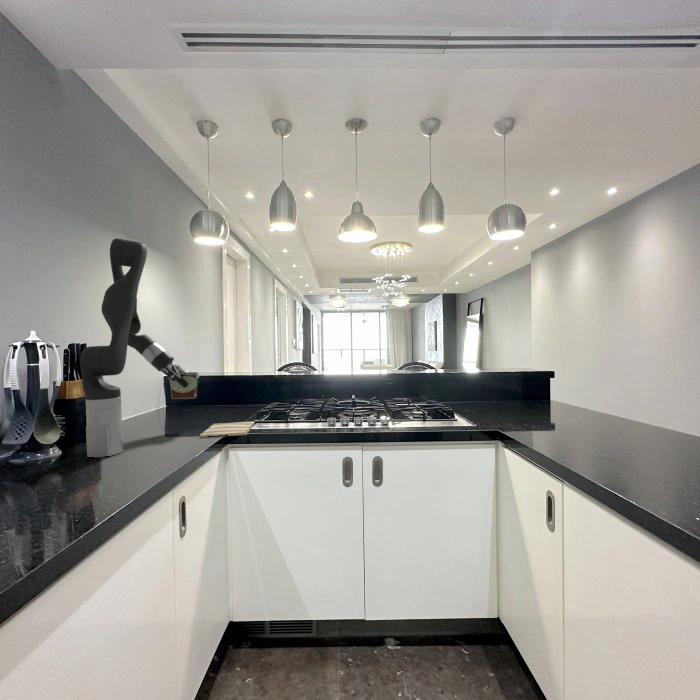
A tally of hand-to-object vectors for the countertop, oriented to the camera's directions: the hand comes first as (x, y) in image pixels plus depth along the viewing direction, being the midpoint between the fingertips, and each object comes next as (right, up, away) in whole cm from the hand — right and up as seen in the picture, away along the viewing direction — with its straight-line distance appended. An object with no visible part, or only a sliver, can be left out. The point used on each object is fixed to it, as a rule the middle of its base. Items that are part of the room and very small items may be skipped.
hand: (189, 385), depth 157 cm
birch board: (+18, -16, -8) cm, 26 cm away
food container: (-1, -5, 0) cm, 5 cm away
